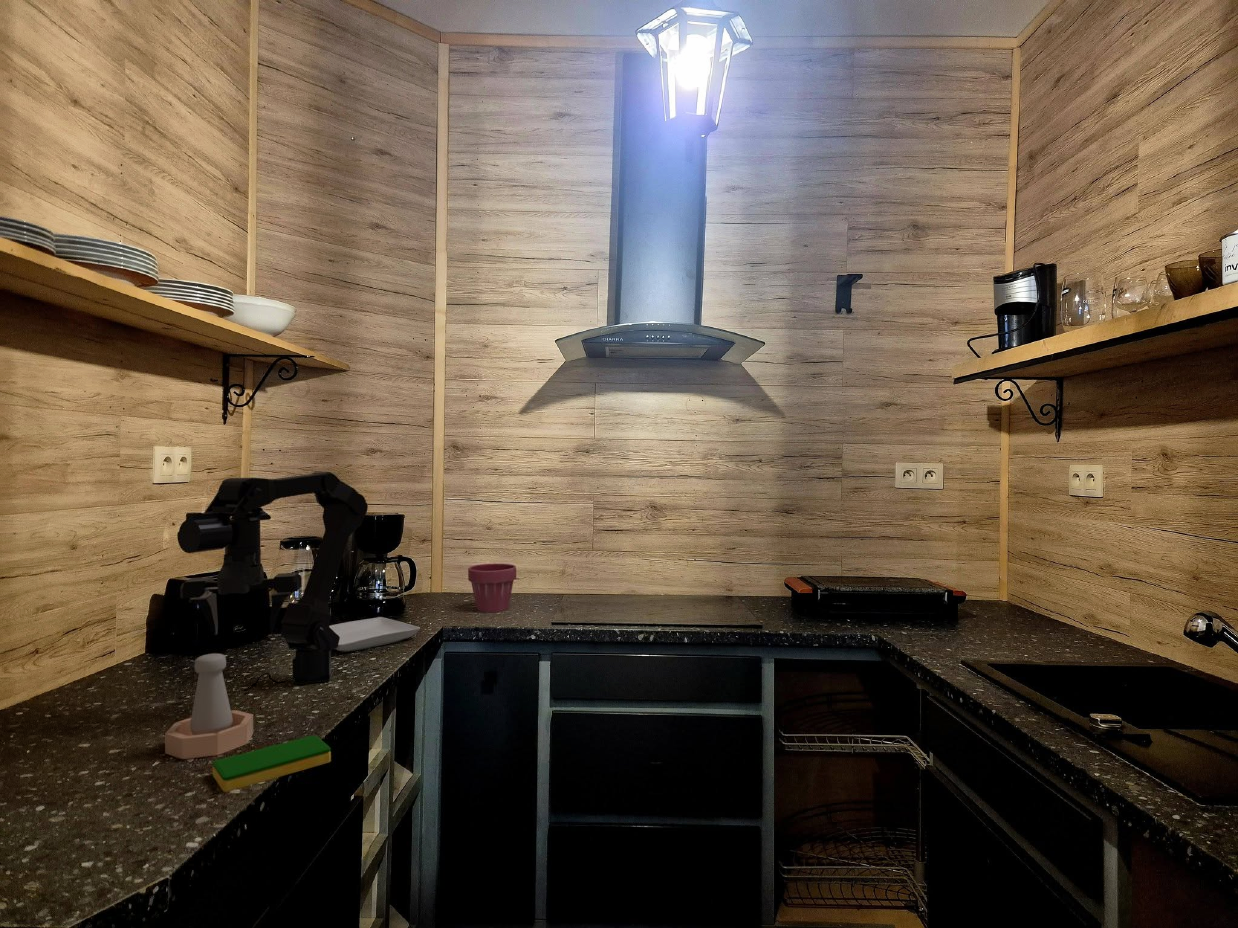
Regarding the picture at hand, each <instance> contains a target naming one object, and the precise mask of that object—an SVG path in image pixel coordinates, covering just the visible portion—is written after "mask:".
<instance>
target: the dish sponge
mask: <svg viewBox="0 0 1238 928" xmlns="http://www.w3.org/2000/svg"><path fill="white" fill-rule="evenodd" d="M331 750H332V749H331V746H329V745H328V744H327V743H325V742H324V741H323V739H321V738H320V737H319V736H317V734H316V735H315V734H313V735H309V736H306V737H302V738H297V739H294V740H290V741H286V742H283V743H278V744H275V745H270V746H267V747H263V748H260V749H255V750H252V751H251V750H250V751H247V752H244V753H239V754H235V755H233V756H228V757H225V758H220V759H217V760H214V761H212V776H213V778H214V779H215V781H216V783H217V785H218V786H219V787H220V788H221V790H222V792H223V793H227V792H230V791H231V792H232V791H235V790H238V789H242V788H245V787H248V786H252V785H255V784H258V783H259V784H260V783H263V782H266V781H269V780H273V779H276V778H279V777H283V776H288V775H289V774H290V775H291V774H294V773H297V772H301V771H305V770H307V769H312V768H314V767H318V766H322V765H325V764H328V763H330V762H332V754H331V753H332V752H331ZM237 788H238V789H237ZM234 789H235V790H234Z"/></svg>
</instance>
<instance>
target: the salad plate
mask: <svg viewBox="0 0 1238 928" xmlns="http://www.w3.org/2000/svg"><path fill="white" fill-rule="evenodd" d="M329 627H330V628H331V629H332V630H333V631H334V632H335V633H336V634H337V635H338V636H339V637H340V640H339V644H338V647H337V648H335V649H334V650H337V651H339V652H345V653H347V652H348V653H349V652H355V651H360V650H361V651H362V650H364V649H365V650H366V649H369V648H375V647H379V646H385V645H389V644H393V643H398V642H401V641H402V640H405V639H408V638H410V637H412V636H414V635H415V634H416V633H418V631H419V630H420V629H421V627H420V626H416V625H413V624H410V623H406V622H403V621H399V620H395V619H391V618H386V617H383V616H378V617H373V618H367V619H366V618H364V619H360V620H353V621H345V622H342V623H341V622H340V623H337V624H331V625H329Z"/></svg>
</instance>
